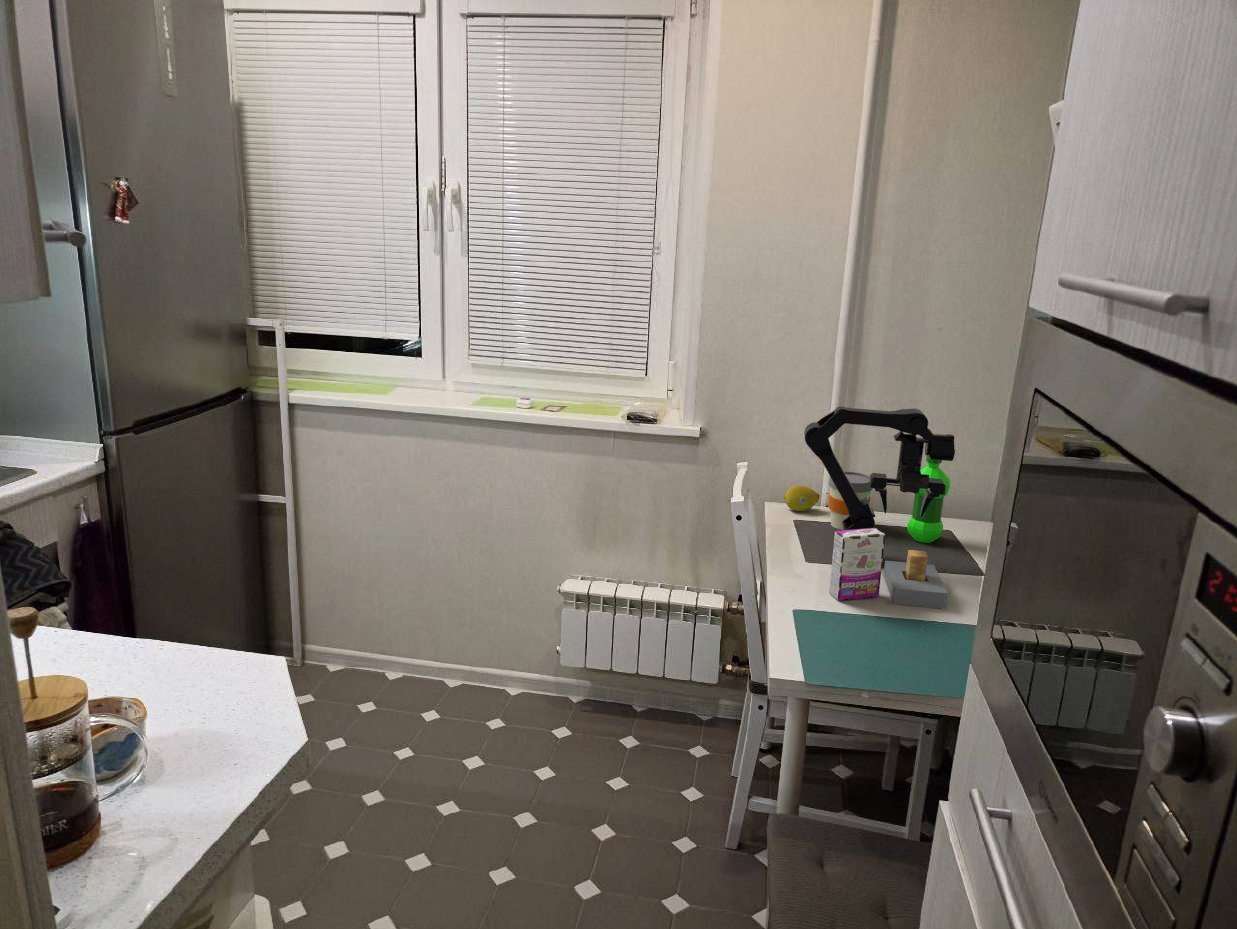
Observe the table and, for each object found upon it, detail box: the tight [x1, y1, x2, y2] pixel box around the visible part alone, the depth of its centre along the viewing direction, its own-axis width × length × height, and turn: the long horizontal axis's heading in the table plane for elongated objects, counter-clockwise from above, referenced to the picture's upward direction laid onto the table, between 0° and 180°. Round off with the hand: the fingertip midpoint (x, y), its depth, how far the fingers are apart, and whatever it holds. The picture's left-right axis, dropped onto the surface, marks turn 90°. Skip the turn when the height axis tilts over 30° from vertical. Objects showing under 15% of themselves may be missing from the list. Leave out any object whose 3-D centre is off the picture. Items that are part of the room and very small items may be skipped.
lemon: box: [783, 484, 820, 512], centre depth 279 cm, size 11×8×8 cm
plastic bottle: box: [906, 455, 952, 544], centre depth 255 cm, size 10×10×25 cm
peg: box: [905, 549, 929, 581], centre depth 221 cm, size 4×4×10 cm
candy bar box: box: [829, 527, 886, 602], centre depth 216 cm, size 11×5×16 cm, turn 105°
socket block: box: [882, 560, 949, 610], centre depth 222 cm, size 12×18×4 cm, turn 171°
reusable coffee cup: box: [828, 471, 874, 531], centre depth 266 cm, size 13×13×15 cm
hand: (903, 514), depth 239 cm, fingers open, 9 cm apart
